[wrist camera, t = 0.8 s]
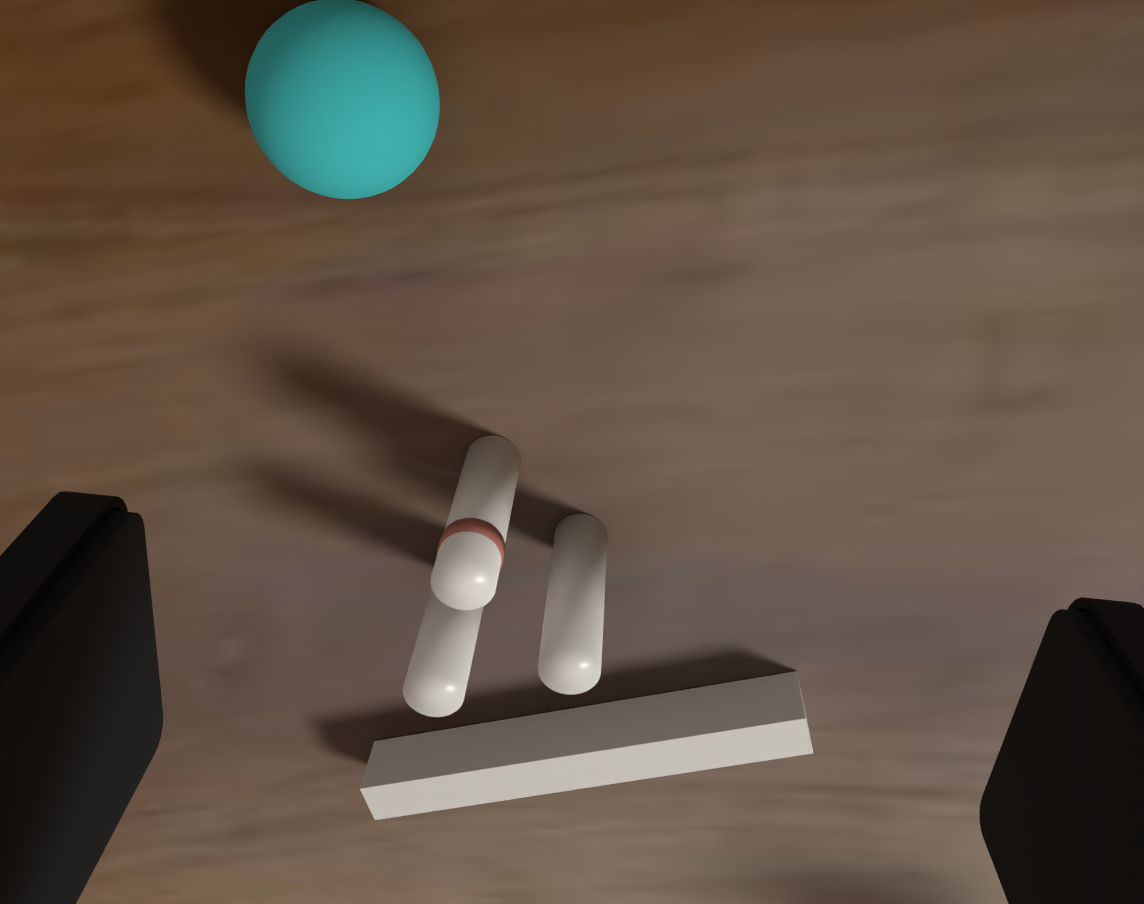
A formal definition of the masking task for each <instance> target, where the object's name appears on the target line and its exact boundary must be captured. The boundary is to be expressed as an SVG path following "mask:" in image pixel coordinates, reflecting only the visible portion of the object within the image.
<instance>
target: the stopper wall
mask: <svg viewBox="0 0 1144 904" xmlns="http://www.w3.org/2000/svg"><path fill="white" fill-rule="evenodd" d="M811 753H813V749H812V744H811V739H810V734H809V729H808V723H807V718H806V713H805V708H804V703H803V698H802V693H801V689H800V684H799V680H798V675H797V671H794V672H788V673H782V674H776V675H770V676H764V677H758V678H752V679H746V680H740V681H734V682H728V683H722V684H716V685H710V686H704V687H698V688H692V689H686V690H680V691H674V692H668V693H662V694H656V695H650V696H644V697H638V698H632V699H626V700H620V701H614V702H607V703H601V704H595V705H589V706H583V707H577V708H571V709H565V710H559V711H553V712H547V713H541V714H535V715H529V716H523V717H517V718H511V719H505V720H499V721H493V722H487V723H481V724H475V725H469V726H463V727H457V728H451V729H445V730H439V731H433V732H427V733H421V734H414V735H408V736H402V737H396V738H390V739H384V740H378V741H374V744H373V747H372V750H371V754H370V757H369V760H368V764H367V767H366V770H365V774H364V777H363V780H362V784H361V787H360V790H361V792H362V794H363V796H364V798H365V800H366V802H367V804H368V807H369V809H370V811H371V813H372V815H373V817H374V819H375V820H378V819H385V818H391V817H398V816H405V815H411V814H418V813H424V812H431V811H437V810H444V809H451V808H457V807H464V806H470V805H477V804H483V803H490V802H496V801H503V800H510V799H516V798H523V797H529V796H536V795H542V794H549V793H555V792H562V791H569V790H575V789H582V788H588V787H595V786H601V785H608V784H615V783H621V782H628V781H634V780H641V779H647V778H654V777H660V776H667V775H674V774H680V773H687V772H693V771H700V770H706V769H713V768H719V767H726V766H733V765H739V764H746V763H752V762H759V761H765V760H772V759H779V758H785V757H792V756H798V755H805V754H811Z"/></svg>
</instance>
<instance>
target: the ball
mask: <svg viewBox="0 0 1144 904" xmlns="http://www.w3.org/2000/svg"><path fill="white" fill-rule="evenodd" d="M245 101H246V110H247V115H248V120H249V123H250V126H251V129H252V132H253V134H254V136H255V138H256V140H257V143H258V144H259V146H260V148H261V149H262V151H263V152H264V154H265V155H266V156H267V158H268V159H269V160H270V162H271V163H272V164H273V165H274V166H275V167H276V168H277V169H278V170H279V171H280V172H281V173H282V174H283V175H285V176H286V177H287V178H288V179H290V180H291V181H293V182H294V183H296V184H297V185H299V186H301V187H303V188H305V189H307V190H309V191H311V192H314V193H317V194H320V195H324V196H328V197H333V198H341V199H357V198H364V197H369V196H373V195H376V194H379V193H382V192H385V191H387V190H389V189H391V188H393V187H395V186H396V185H398V184H399V183H401V182H402V181H403V180H405V179H406V178H407V177H408V176H409V175H410V174H411V173H412V172H413V171H415V170H416V168H417V167H418V166H419V165H420V163H421V162H422V161H423V159H424V158H425V156H426V154H427V153H428V151H429V149H430V147H431V144H432V142H433V139H434V137H435V134H436V130H437V126H438V121H439V113H440V98H439V90H438V84H437V80H436V76H435V72H434V70H433V67H432V64H431V62H430V60H429V58H428V56H427V54H426V52H425V50H424V49H423V47H422V46H421V44H420V43H419V41H418V40H417V38H416V37H415V36H414V35H413V34H412V33H411V32H410V31H409V29H408V28H406V27H405V26H404V25H403V24H402V23H401V22H400V21H399V20H397V19H396V18H394V17H393V16H391V15H390V14H388V13H387V12H385V11H383V10H381V9H379V8H377V7H375V6H372V5H369V4H367V3H364V2H360V1H356V0H317V1H313V2H308V3H306V4H303V5H301V6H298V7H296V8H294V9H292V10H291V11H289V12H287V13H286V14H284V15H283V16H282V17H281V18H279V19H278V20H277V21H275V22H274V23H273V24H272V25H271V26H270V27H269V29H268V30H267V31H266V32H265V33H264V35H263V36H262V38H261V39H260V40H259V42H258V44H257V46H256V48H255V50H254V52H253V54H252V56H251V59H250V62H249V65H248V69H247V74H246V80H245Z"/></svg>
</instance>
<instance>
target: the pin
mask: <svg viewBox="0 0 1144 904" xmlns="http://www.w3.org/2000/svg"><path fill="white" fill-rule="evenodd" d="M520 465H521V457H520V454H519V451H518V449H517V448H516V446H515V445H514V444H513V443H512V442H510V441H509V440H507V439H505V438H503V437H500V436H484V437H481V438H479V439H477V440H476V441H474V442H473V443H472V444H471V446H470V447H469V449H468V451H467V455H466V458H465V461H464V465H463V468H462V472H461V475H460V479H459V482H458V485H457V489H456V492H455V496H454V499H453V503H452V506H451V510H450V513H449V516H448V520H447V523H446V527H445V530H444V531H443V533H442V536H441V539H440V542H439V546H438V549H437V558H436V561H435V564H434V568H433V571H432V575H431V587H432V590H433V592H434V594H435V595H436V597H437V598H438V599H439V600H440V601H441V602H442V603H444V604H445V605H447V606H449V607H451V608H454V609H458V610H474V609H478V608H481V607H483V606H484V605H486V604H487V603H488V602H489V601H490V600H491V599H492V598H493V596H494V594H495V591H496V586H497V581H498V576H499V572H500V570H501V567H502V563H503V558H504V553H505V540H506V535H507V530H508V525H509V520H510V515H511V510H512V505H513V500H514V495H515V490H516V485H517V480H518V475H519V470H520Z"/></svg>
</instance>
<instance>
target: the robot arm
mask: <svg viewBox="0 0 1144 904" xmlns="http://www.w3.org/2000/svg"><path fill="white" fill-rule="evenodd" d="M162 726H163V709H162V699H161V689H160V679H159V669H158V659H157V649H156V639H155V629H154V619H153V609H152V599H151V589H150V579H149V569H148V559H147V549H146V539H145V529H144V523H143V519H142V517H141V515H139V514H138V513H132V512H128V511H127V507H126V505H125V503H124V501H123V500H122V499H121V498H120V497H116V496H106V495H97V494H87V493H78V492H68V491H64V492H59V493H58V494H57V495H55V496H54V497H53V498H52V499H51V500H50V502H49V503H48V504H47V505H46V506H45V507H44V508H43V509H42V510H41V511H40V513H39V514H38V515H37V516H36V517H35V518H34V519H33V520H32V521H31V523H30V524H29V525H28V526H27V527H26V528H25V529H24V530H23V531H22V532H21V534H20V535H19V536H18V537H17V538H16V539H15V540H14V541H13V542H12V544H11V545H10V546H9V547H8V548H7V549H6V550H5V551H4V552H3V553H2V555H1V556H0V904H76V903H77V901H78V899H79V897H80V895H81V893H82V891H83V889H84V887H85V885H86V884H87V882H88V880H89V878H90V876H91V874H92V872H93V870H94V868H95V866H96V865H97V863H98V861H99V859H100V857H101V855H102V853H103V851H104V849H105V847H106V845H107V844H108V842H109V840H110V838H111V836H112V834H113V832H114V830H115V828H116V826H117V824H118V823H119V821H120V819H121V817H122V815H123V813H124V811H125V809H126V807H127V805H128V804H129V802H130V800H131V798H132V796H133V794H134V792H135V790H136V788H137V786H138V784H139V783H140V781H141V779H142V777H143V775H144V773H145V771H146V769H147V767H148V765H149V763H150V762H151V760H152V758H153V756H154V754H155V752H156V749H157V747H158V744H159V741H160V737H161V732H162ZM980 826H981V831H982V835H983V838H984V841H985V843H986V846H987V848H988V851H989V854H990V856H991V859H992V861H993V864H994V867H995V869H996V872H997V874H998V877H999V880H1000V882H1001V885H1002V888H1003V890H1004V893H1005V895H1006V898H1007V901H1008V903H1009V904H1144V608H1143V607H1142V606H1141V605H1139V604H1136V603H1131V602H1121V601H1112V600H1102V599H1093V598H1083V597H1082V598H1079V599H1076V600H1075V601H1074V602H1073V603H1072V604H1071V605H1070V606H1069V608H1068V610H1063V609H1061V610H1058V611H1056V612H1055V613H1054V614H1053V615H1052V617H1051V619H1050V621H1049V623H1048V626H1047V628H1046V631H1045V634H1044V636H1043V639H1042V642H1041V644H1040V647H1039V649H1038V652H1037V655H1036V657H1035V660H1034V662H1033V665H1032V668H1031V670H1030V673H1029V676H1028V678H1027V681H1026V683H1025V686H1024V689H1023V691H1022V694H1021V696H1020V699H1019V702H1018V704H1017V707H1016V710H1015V712H1014V715H1013V717H1012V720H1011V723H1010V725H1009V728H1008V730H1007V733H1006V736H1005V738H1004V741H1003V744H1002V746H1001V749H1000V751H999V754H998V757H997V759H996V762H995V764H994V767H993V770H992V772H991V775H990V778H989V780H988V783H987V785H986V788H985V791H984V793H983V796H982V800H981V804H980Z"/></svg>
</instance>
